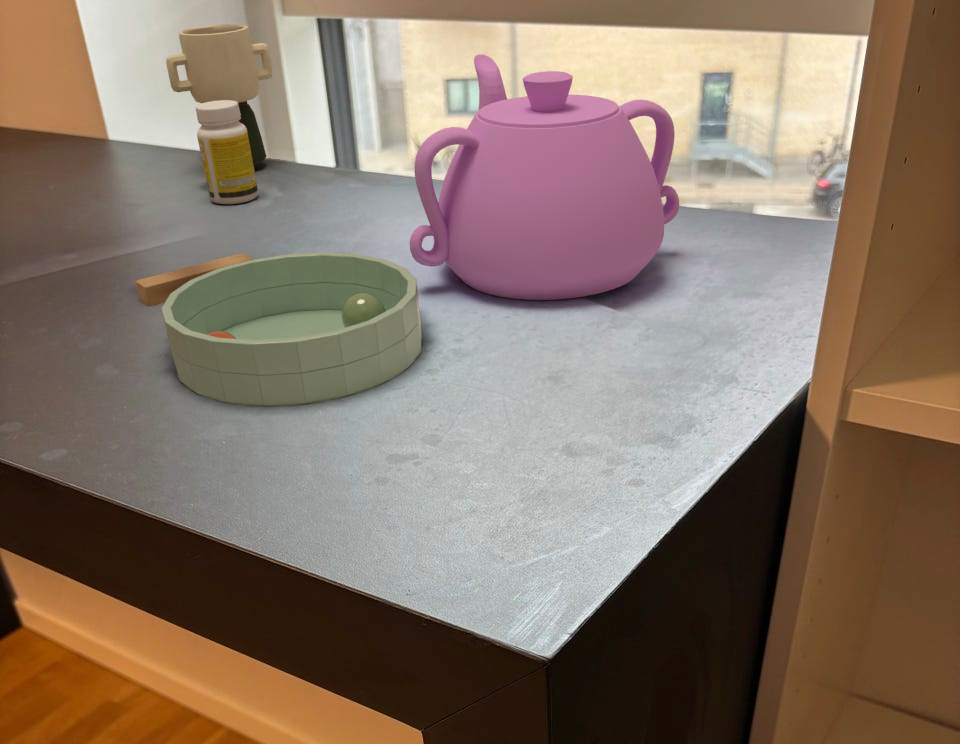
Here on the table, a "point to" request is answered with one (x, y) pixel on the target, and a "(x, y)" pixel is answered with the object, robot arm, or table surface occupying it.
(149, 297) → the wooden block
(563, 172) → the teapot
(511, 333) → the table surface
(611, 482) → the table surface
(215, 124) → the supplement bottle
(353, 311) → the sage bead
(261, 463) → the table surface
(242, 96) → the character mug
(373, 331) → the bowl
